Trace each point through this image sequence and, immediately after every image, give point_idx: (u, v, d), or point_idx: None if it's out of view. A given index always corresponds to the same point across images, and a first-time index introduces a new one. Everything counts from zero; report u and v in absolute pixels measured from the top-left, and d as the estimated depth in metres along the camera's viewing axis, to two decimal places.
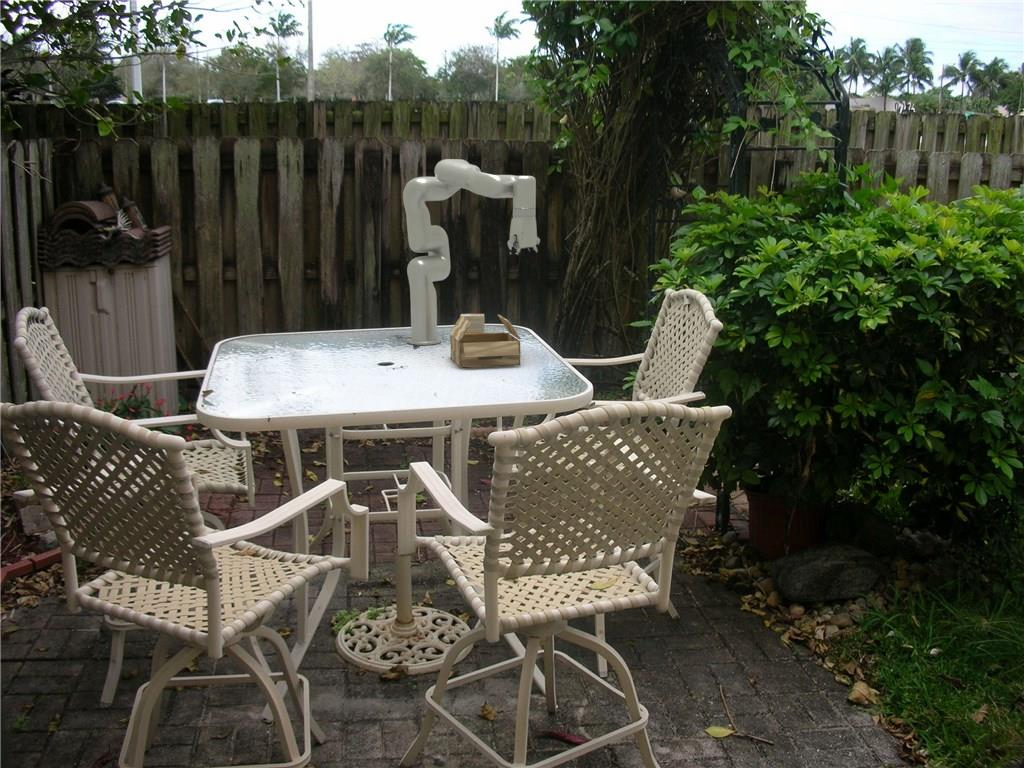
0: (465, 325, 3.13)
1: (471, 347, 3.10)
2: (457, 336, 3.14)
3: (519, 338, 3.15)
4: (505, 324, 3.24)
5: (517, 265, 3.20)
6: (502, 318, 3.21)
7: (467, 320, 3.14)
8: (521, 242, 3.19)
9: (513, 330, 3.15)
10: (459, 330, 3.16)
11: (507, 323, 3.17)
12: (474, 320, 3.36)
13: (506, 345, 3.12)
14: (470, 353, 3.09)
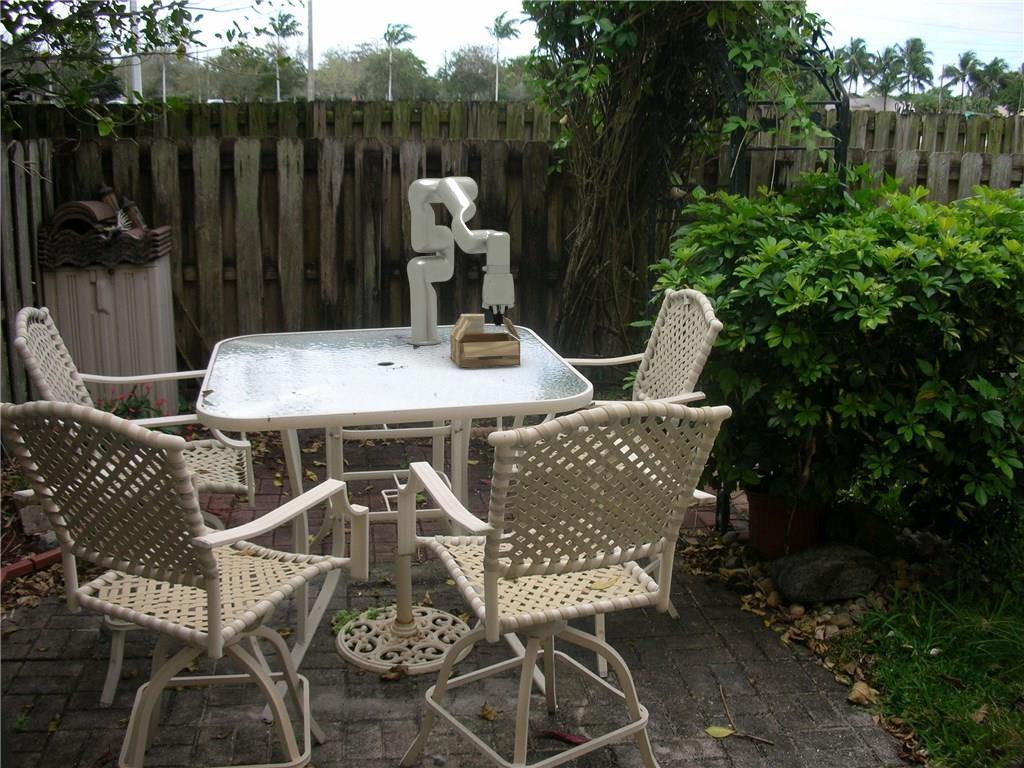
0: (465, 325, 3.13)
1: (471, 347, 3.10)
2: (457, 336, 3.14)
3: (519, 338, 3.15)
4: (506, 324, 3.24)
5: None
6: (503, 317, 3.21)
7: (467, 320, 3.14)
8: None
9: (514, 330, 3.15)
10: (459, 330, 3.16)
11: (508, 322, 3.18)
12: (474, 320, 3.36)
13: (506, 345, 3.12)
14: (470, 353, 3.09)
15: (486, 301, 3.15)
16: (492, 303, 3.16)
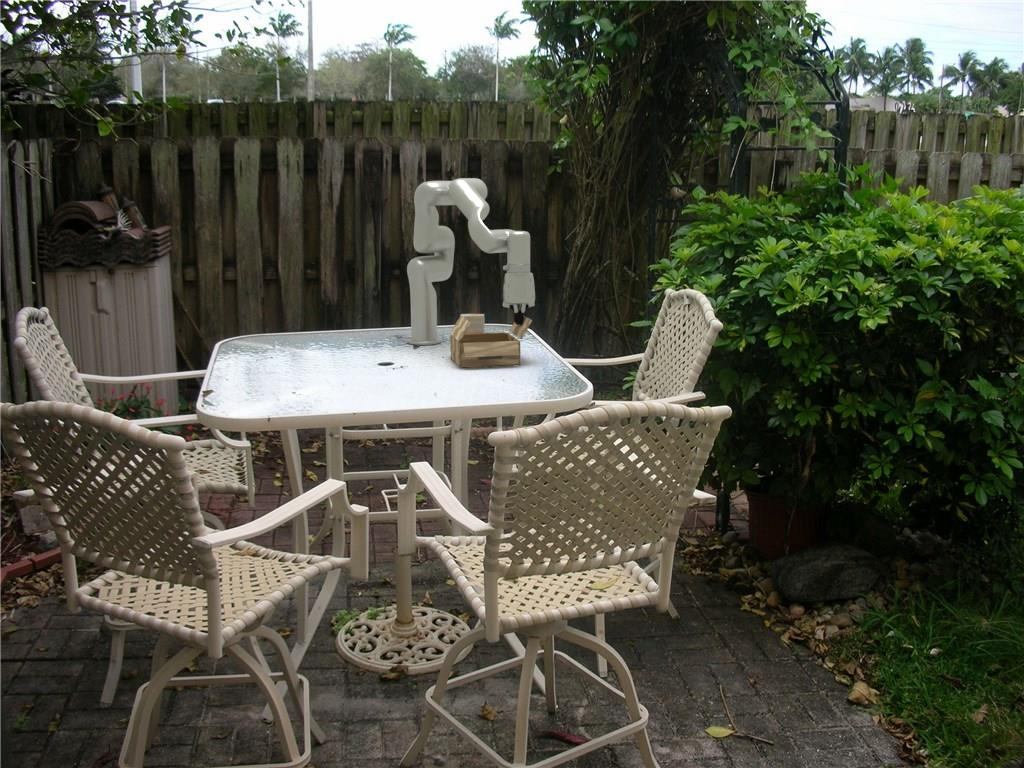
0: (465, 325, 3.13)
1: (471, 347, 3.10)
2: (457, 336, 3.14)
3: (521, 338, 3.15)
4: None
5: None
6: (524, 316, 3.23)
7: (467, 320, 3.14)
8: None
9: (525, 329, 3.16)
10: (459, 330, 3.16)
11: (525, 321, 3.19)
12: (474, 320, 3.36)
13: (506, 345, 3.12)
14: (470, 353, 3.09)
15: (507, 300, 3.16)
16: (513, 302, 3.17)
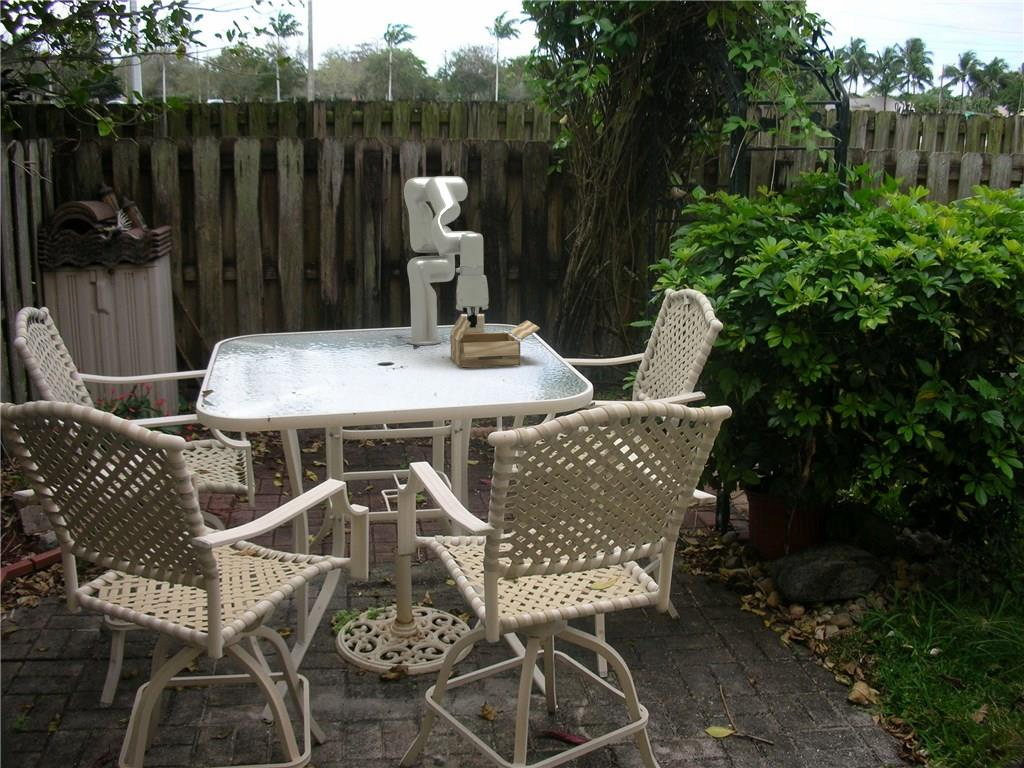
0: (465, 325, 3.13)
1: (471, 347, 3.10)
2: (457, 336, 3.14)
3: (522, 338, 3.15)
4: (522, 327, 3.26)
5: None
6: (531, 323, 3.24)
7: (466, 320, 3.14)
8: None
9: (529, 332, 3.16)
10: (459, 330, 3.16)
11: (531, 327, 3.20)
12: None
13: (506, 345, 3.12)
14: (470, 353, 3.09)
15: (460, 303, 3.13)
16: (466, 304, 3.14)
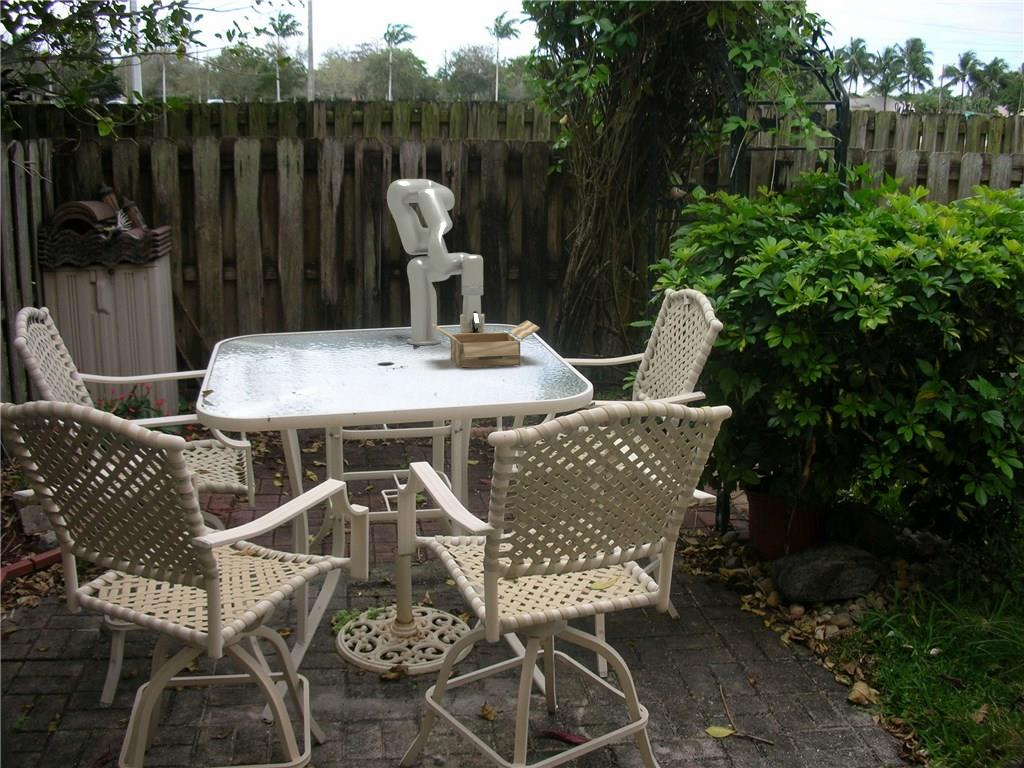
0: None
1: (471, 347, 3.10)
2: None
3: (522, 338, 3.15)
4: (522, 327, 3.26)
5: None
6: (531, 323, 3.24)
7: None
8: (480, 318, 3.35)
9: (529, 332, 3.16)
10: None
11: (531, 327, 3.20)
12: None
13: (506, 345, 3.12)
14: (470, 353, 3.09)
15: None
16: None
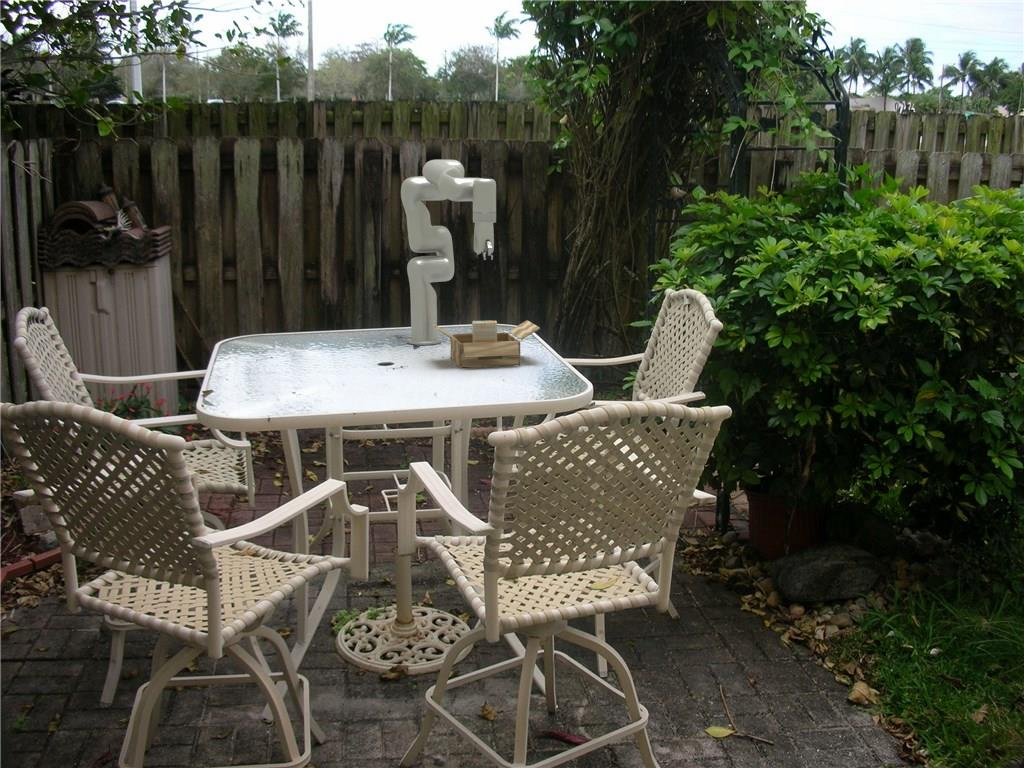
0: None
1: (471, 347, 3.10)
2: None
3: (522, 338, 3.15)
4: (522, 327, 3.26)
5: (491, 271, 3.11)
6: (531, 323, 3.24)
7: None
8: (493, 247, 3.10)
9: (529, 332, 3.16)
10: None
11: (531, 327, 3.20)
12: (488, 327, 3.17)
13: (506, 345, 3.12)
14: (470, 353, 3.09)
15: None
16: (475, 250, 3.16)
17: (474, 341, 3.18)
